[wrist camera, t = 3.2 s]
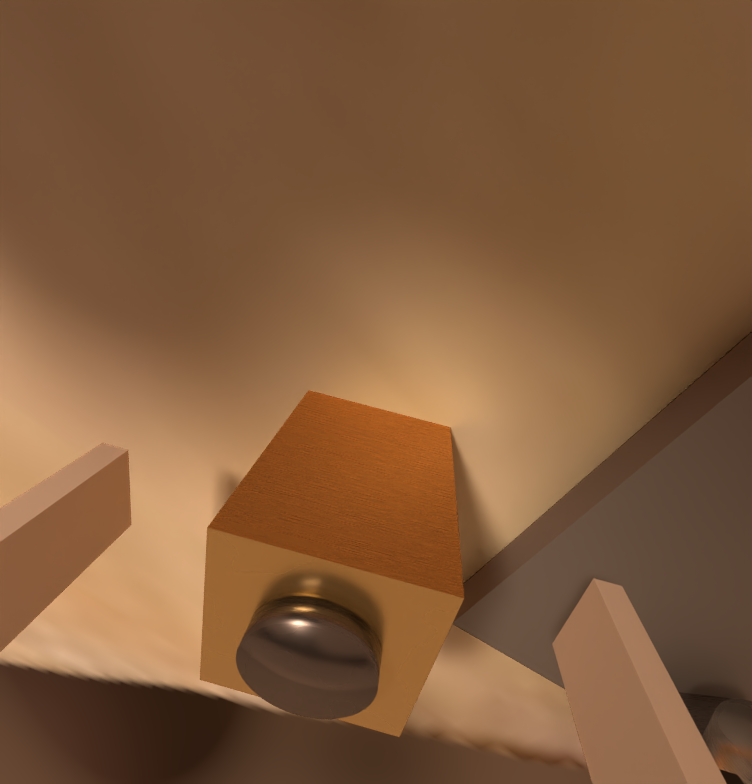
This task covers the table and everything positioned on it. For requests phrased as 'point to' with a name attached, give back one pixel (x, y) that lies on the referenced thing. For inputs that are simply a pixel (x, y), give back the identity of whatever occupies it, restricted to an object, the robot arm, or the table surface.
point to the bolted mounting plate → (645, 544)
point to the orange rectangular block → (336, 566)
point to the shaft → (724, 730)
